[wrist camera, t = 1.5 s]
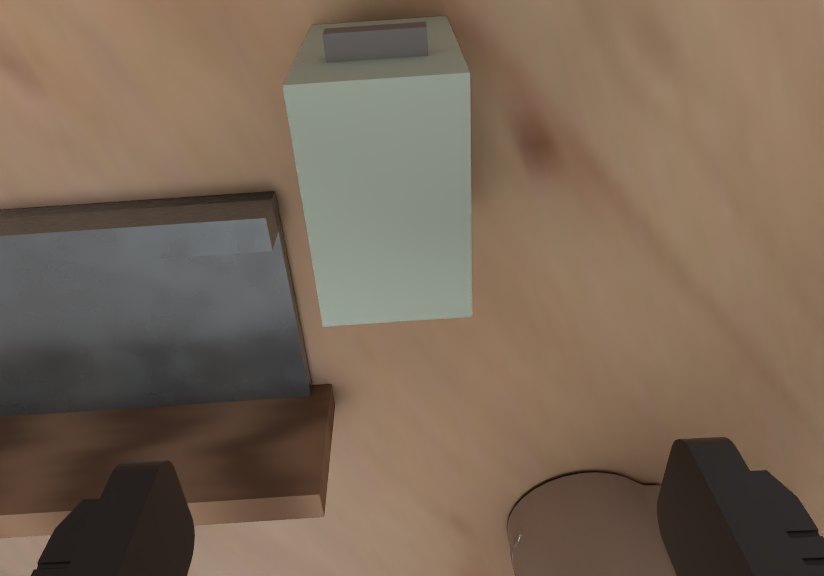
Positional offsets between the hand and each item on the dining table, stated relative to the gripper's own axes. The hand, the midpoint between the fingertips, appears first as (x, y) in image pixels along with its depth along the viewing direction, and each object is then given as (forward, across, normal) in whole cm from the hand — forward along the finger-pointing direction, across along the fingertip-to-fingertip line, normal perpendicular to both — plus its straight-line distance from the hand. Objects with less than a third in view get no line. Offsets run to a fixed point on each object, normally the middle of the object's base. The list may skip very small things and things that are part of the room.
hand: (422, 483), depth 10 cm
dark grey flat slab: (+18, +14, +9) cm, 25 cm away
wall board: (+18, +14, +15) cm, 27 cm away
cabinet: (+18, +1, 0) cm, 18 cm away
